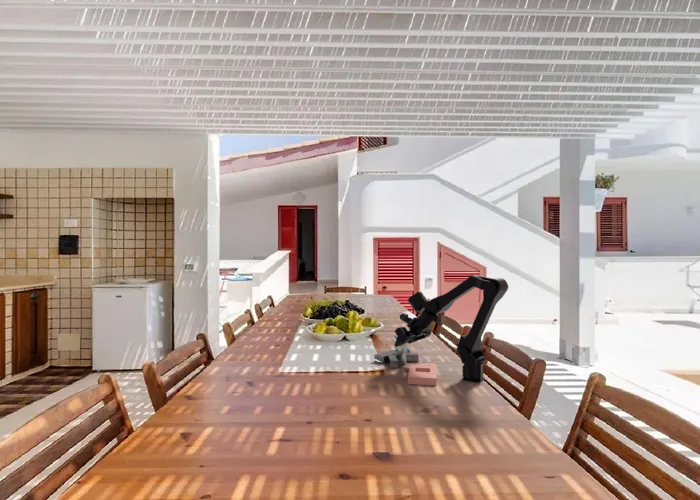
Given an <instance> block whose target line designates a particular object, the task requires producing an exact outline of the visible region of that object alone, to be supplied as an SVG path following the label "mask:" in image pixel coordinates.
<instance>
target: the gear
mask: <svg viewBox="0 0 700 500" xmlns="http://www.w3.org/2000/svg"><path fill="white" fill-rule="evenodd" d="M394 339H395V340H396V339H397V335H394ZM394 351H397V347H395V349H394ZM410 351H411V350H410V349H409V348H408V347H407V353H409V352H410ZM410 353H411V352H410Z"/></svg>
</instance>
